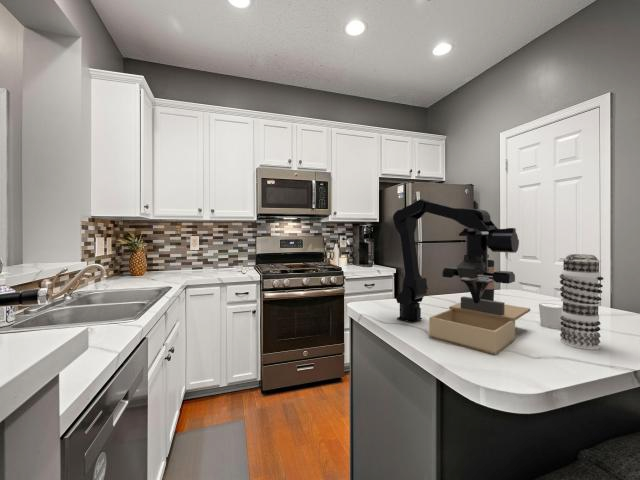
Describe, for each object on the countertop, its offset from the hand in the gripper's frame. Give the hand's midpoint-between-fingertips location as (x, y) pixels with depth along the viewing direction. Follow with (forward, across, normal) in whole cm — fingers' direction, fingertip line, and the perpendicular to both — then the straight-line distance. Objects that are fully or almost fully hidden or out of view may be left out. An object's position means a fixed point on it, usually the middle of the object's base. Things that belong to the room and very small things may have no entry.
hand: (476, 303), depth 90 cm
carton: (+10, 0, -3) cm, 10 cm away
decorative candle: (+10, +22, +15) cm, 28 cm away
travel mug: (+10, -11, +37) cm, 40 cm away
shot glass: (+10, +13, +29) cm, 33 cm away
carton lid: (+4, 0, +11) cm, 12 cm away
